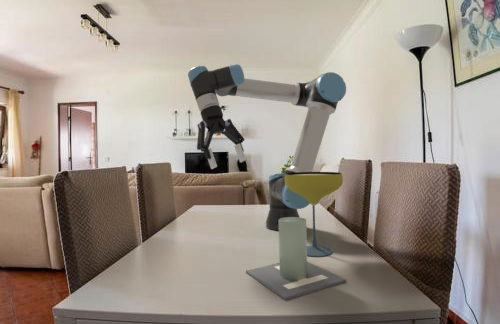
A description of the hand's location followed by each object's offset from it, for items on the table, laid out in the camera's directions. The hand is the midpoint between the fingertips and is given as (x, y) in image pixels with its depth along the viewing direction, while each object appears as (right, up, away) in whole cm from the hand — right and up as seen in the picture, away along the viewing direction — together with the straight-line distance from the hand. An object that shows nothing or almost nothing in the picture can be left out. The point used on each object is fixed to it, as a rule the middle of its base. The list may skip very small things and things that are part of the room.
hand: (229, 164), depth 107 cm
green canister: (+18, -28, -29) cm, 44 cm away
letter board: (+18, -28, -29) cm, 45 cm away
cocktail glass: (+28, -28, -9) cm, 41 cm away
